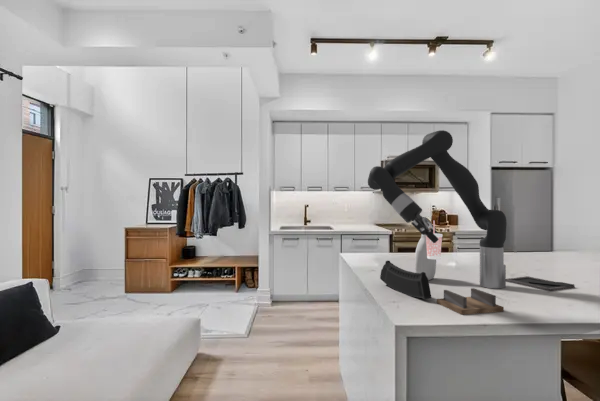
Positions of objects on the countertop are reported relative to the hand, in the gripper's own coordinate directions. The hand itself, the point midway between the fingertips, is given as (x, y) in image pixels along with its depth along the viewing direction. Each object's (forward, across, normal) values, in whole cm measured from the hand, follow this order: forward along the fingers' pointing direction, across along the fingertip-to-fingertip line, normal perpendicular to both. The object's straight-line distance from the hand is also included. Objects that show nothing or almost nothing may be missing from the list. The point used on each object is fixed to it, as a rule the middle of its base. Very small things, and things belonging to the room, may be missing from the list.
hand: (438, 240), depth 134 cm
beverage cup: (+4, 0, +6) cm, 7 cm away
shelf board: (+23, 0, +9) cm, 25 cm away
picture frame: (+38, +54, -5) cm, 67 cm away
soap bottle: (+7, +37, +26) cm, 46 cm away
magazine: (+5, +8, +27) cm, 29 cm away
